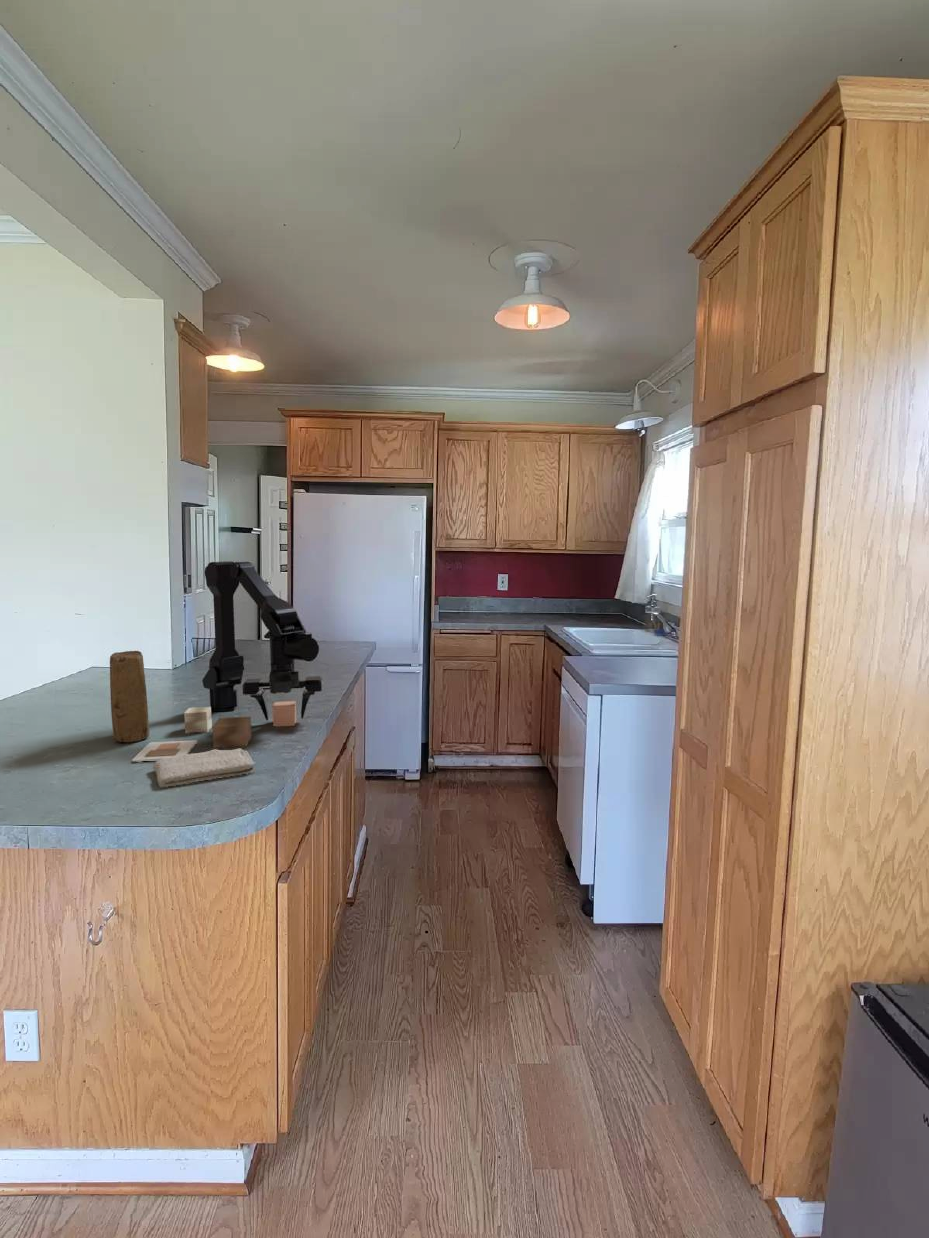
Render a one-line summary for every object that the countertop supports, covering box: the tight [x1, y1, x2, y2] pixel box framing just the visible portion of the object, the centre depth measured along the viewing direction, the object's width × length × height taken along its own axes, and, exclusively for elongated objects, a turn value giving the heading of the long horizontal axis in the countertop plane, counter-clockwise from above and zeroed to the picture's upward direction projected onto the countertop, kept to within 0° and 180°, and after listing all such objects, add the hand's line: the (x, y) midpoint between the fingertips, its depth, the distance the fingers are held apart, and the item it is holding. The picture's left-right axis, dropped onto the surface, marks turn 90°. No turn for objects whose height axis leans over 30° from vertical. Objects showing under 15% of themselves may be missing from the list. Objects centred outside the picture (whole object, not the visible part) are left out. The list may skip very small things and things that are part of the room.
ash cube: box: [183, 706, 213, 734], centre depth 161 cm, size 5×5×5 cm
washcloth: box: [152, 747, 257, 788], centre depth 132 cm, size 12×18×3 cm, turn 119°
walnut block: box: [211, 716, 253, 749], centre depth 150 cm, size 7×7×5 cm
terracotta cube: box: [272, 700, 297, 727], centre depth 166 cm, size 5×5×5 cm
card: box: [131, 739, 198, 762], centre depth 144 cm, size 10×12×1 cm
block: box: [109, 650, 150, 743], centre depth 154 cm, size 11×8×20 cm
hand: (284, 719), depth 166 cm, fingers open, 8 cm apart
